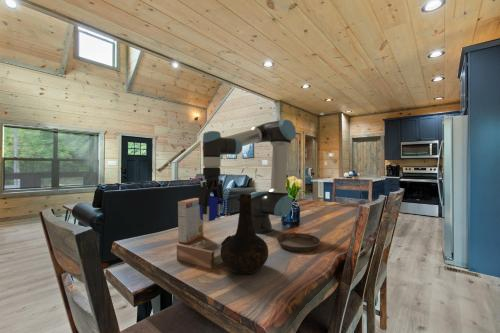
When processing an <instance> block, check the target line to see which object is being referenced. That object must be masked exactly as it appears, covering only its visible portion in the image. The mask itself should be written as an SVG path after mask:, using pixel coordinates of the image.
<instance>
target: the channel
mask: <svg viewBox="0 0 500 333" xmlns="http://www.w3.org/2000/svg"><path fill="white" fill-rule="evenodd" d="M205 248H206V239H202V240H200V241H197V242H195V243H193V244H191V245H186V244H183V243H177V244H176V260H178V261H180V262H181V261H182V262H185V263H187V264H193V265H197V266H200V267H203V268H208V269H214V268H215V267H217V266H218V265H220V264H222V263H224V262H223V260H222V258H221V252H219V254H217V255H215V250H209V249H205Z"/></svg>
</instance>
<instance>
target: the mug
mask: <svg viewBox="0 0 500 333" xmlns="http://www.w3.org/2000/svg"><path fill="white" fill-rule="evenodd" d="M218 201H223V210H222V213H220V215H218V214H217V205H218ZM201 203H202V202H201ZM226 204H227V201H226V199H224V198H223V199H221V198H220V199H218V197H215V198H214V195H210V198H209V202H208V206H209V222H212V221H215V220H216V219H217V218H216V216H217V217H220V218H221V217H223V216H224V215H225V211H226ZM199 208H200V218H201V220H203V214H202V206H200V205H199Z"/></svg>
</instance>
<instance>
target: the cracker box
mask: <svg viewBox="0 0 500 333" xmlns="http://www.w3.org/2000/svg"><path fill="white" fill-rule="evenodd" d="M177 220H178V221H177V224H178V225H177V227H178V229H177V230H178V232H177V233H178V236H177V237H178V243H180V244H189V243H191V242H193V241H196V240H197V239H200V238H202V237H204V222H203V220H201V218H200V208H199V197H193V198H188V199H184V200H180V201H177Z"/></svg>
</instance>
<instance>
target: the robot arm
mask: <svg viewBox="0 0 500 333" xmlns="http://www.w3.org/2000/svg"><path fill="white" fill-rule="evenodd" d="M296 134H297V130H296V127H295V124H294V123H293V122H292V121H291V120H289V119H280V120H276V121H275V120H274V121H268V122H264V123H263V124H260V125H257V126H253V127H252V128H250V130H245V131H242V132H238V133H235V134H231V135H227V136H225V137H224V136H223V137H222V136H221V132H220V131H216V130H207V131H205V132H204V133H203V134H202V165H203V166H202V167H203V168H202V176H203V177H204V179H203V181H202V180H201V181H198V182H199V183H198V185H199V193H198V198H199V205H200V206H202V214H203V223H209V222H210V221H209V206H208V202H209V198H210V196H211V194H213V195H212V196H214V198H215V197H218V199H224V188H223V184H224V180H223V179H220V178H219V177H220V176H221V168H220V167H221V156H225V155H226V156H227V155H233V156H234V155H239V154H241V152H242V151H243V147H244V146H248V145H251V144H253V143H254V144H259V143H270V145H271V146H272V156H271V157H272V158H271V173H270V174H271V175H270V189H268V190H266V191H253V192H251V193H250V195H251V199H253V201H251V207H252V219H253V226H254V231H255V234H265V233H266V234H267V233H270V232H272V231H273V225H272V222H271V219H270V215H271V216H276V217H281V218H282V217H283V218H284V217H286V216H287V215H289V213H290V212H291V211H292V206H293V200H292V197H290V196H289V192H288V190H287V172H288V170H287V169H288V153H289V147H290V146H291V144H292V141H293V140H294V139H295V138H296ZM201 202H202V203H201ZM221 204H224V201H218V205H217V214H218V215H221ZM216 219H219V220H220V219H221V217H217V216H216Z"/></svg>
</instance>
